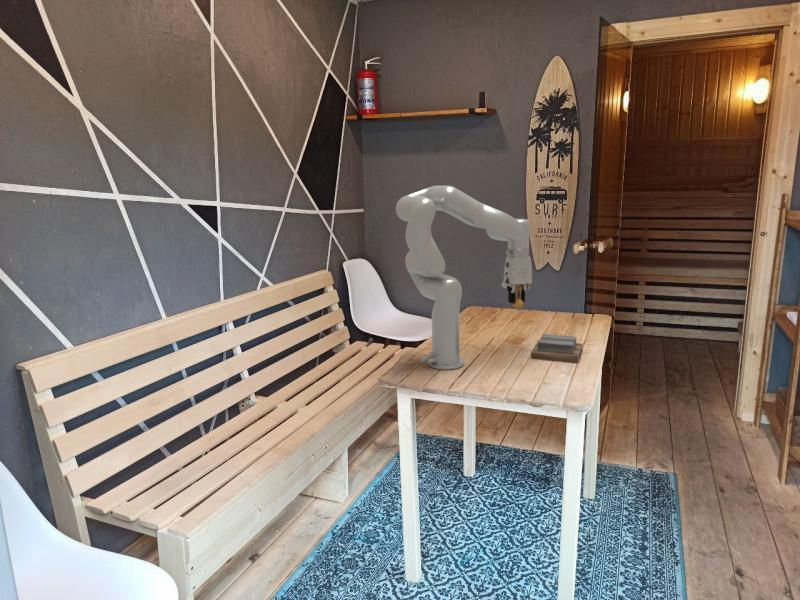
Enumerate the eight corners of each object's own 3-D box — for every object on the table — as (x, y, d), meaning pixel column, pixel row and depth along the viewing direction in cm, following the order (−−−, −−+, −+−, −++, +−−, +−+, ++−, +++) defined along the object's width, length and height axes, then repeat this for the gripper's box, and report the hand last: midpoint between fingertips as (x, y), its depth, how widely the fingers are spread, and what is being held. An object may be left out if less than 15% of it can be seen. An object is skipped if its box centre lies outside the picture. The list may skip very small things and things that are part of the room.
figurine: (505, 309, 209) (504, 277, 206) (509, 305, 214) (508, 274, 211) (528, 310, 206) (527, 278, 203) (531, 306, 211) (530, 275, 208)
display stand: (577, 363, 195) (578, 348, 194) (530, 358, 202) (531, 343, 200) (581, 350, 210) (582, 335, 209) (538, 346, 216) (538, 332, 215)
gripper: (506, 255, 198) (505, 306, 202) (542, 252, 206) (540, 301, 210) (493, 253, 204) (492, 303, 208) (528, 250, 212) (526, 298, 216)
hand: (516, 301), depth 209 cm, fingers closed on figurine, 3 cm apart
